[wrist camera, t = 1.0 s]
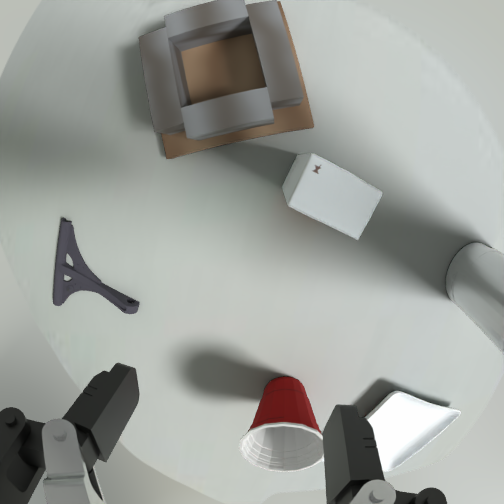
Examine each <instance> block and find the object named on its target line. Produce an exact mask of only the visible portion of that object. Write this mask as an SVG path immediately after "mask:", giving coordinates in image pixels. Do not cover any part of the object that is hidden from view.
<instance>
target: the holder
mask: <svg viewBox="0 0 504 504" xmlns="http://www.w3.org/2000/svg"><path fill="white" fill-rule="evenodd" d="M164 19H165V25H166V27H164V28H161V29H158V30H156V31H153V32H150V33H148V34H145V35H143V36H141V37H139V44H140V52H141V58H142V65H143V71H144V78H145V84H146V90H147V95H148V101H149V106H150V112H151V117H152V122H153V127H154V132H157V133H161V134H162V139H163V144H164V149H165V153H166V158H167V159H172V158H175V157H179V156H182V155H186V154H190V153H193V152H197V151H201V150H205V149H209V148H213V147H217V146H221V145H226V144H230V143H234V142H239V141H243V140H248V139H253V138H258V137H263V136H268V135H273V134H279V133H284V132H290V131H296V130H303V129H309V128H313V127H314V123H313V119H312V114H311V110H310V106H309V101H308V97H307V93H306V89H305V85H304V81H303V77H302V73H301V69H300V66H299V62H298V58H297V55H296V51H295V48H294V44H293V41H292V37H291V34H290V31H289V27H288V24H287V21H286V18H285V15H284V12H283V9H282V6H281V3H280V1H278V2H277V1H276V0H272V1H266V2H259V3H253V4H248V5H245V2H244V0H215V1H211V2H208V3H204V4H200V5H197V6H193V7H190V8H187V9H184V10H181V11H177V12H175V13H172V14H169V15H166V16H164Z"/></svg>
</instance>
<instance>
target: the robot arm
mask: <svg viewBox="0 0 504 504" xmlns="http://www.w3.org/2000/svg"><path fill="white" fill-rule="evenodd" d="M446 290H447V294H448V296H449V298H450V299H451V300H452V301H453V302H454V303H455V304H456V305H457V306H458V307H459V308H460V309H461V310H462V311H463V312H464V313H465V314H466V315H467V316H468V317H469V318H470V319H471V320H472V321H473V322H474V323H475V324H476V325H477V326H478V327H479V328H480V329H481V330H482V331H483V332H484V333H485V335H486V336H487V337H488V338H489V339H490V340H491V341H492V342H493V343H494V344H495V345H496V346H497V348H498V349H499V350H500V351H501V352H502V353H503V354H504V254H503V253H501V252H499V251H498V250H496V249H494V248H489V247H488V246H486V245H484V244H481V243H476V242H475V243H470V244H468V245H466V246H465V247H463V248H462V249H461V250H460V251H459V252H458V253H457V254H456V255H455V257H454V258H453V260H452V262H451V264H450V266H449V268H448V272H447V276H446ZM138 401H139V387H138V381H137V374H136V369H135V368H133V367H130V366H127V365H124V364H121V363H116V364H115V365H114V367H113V368H112V369H111V371H110V372H107V371H103V372H101V373H99V374H97V375H96V376H94V377H93V379H92V380H91V381H90V383H89V384H88V386H86V388H85V389H84V390H83V393H81V394H80V396H79V397H78V398H77V400H76V401H75V402H74V404H73V405H72V406H71V408H70V409H69V410H68V412H67V413H66V414H65V416H64V417H63V418H62V419H53V420H50V421H48V422H47V423H41V422H36V421H32V420H28V419H26V418H25V416H24V414H23V413H22V412H21V411H20V410H19V409H17V408H13V407H10V408H6V409H3V410H2V411H1V412H0V504H28V502H29V500H30V498H31V496H32V494H33V492H34V490H35V488H36V486H37V484H38V483H39V481H40V479H41V477H42V475H43V473H44V471H45V470H46V472H47V478H46V479H44V480H43V487H44V492H45V496H46V502H47V504H106V502H105V499H104V496H103V493H102V490H101V487H100V484H99V480H98V477H97V473H96V470H95V467H94V464H95V462H96V460H97V459H99V460H102V461H104V462H107V460H108V458H109V456H110V454H111V452H112V450H113V449H114V447H115V445H116V443H117V441H118V439H119V437H120V436H121V434H122V432H123V430H124V428H125V426H126V425H127V423H128V421H129V419H130V417H131V415H132V414H133V412H134V410H135V408H136V406H137V404H138ZM323 450H324V464H325V479H326V497H327V504H447V501H446V497H445V495H444V494H443V493H442V492H441V491H440V490H438V489H436V488H426V489H424V490H422V491H421V492H419V493H418V494H414V493H407V492H400V491H397V490H395V489H394V487H393V486H392V485H391V484H390V483H388V482H386V481H385V479H384V475H383V470H382V466H381V461H380V457H379V452H378V448H377V444H376V440H375V435H374V431H373V427H372V426H371V424H370V423H369V422H368V420H367V419H366V418H359V416H358V412H357V408H356V406H355V405H336V406H335V408H334V410H333V412H332V414H331V416H330V418H329V420H328V422H327V424H326V426H325V428H324V432H323Z"/></svg>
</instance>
